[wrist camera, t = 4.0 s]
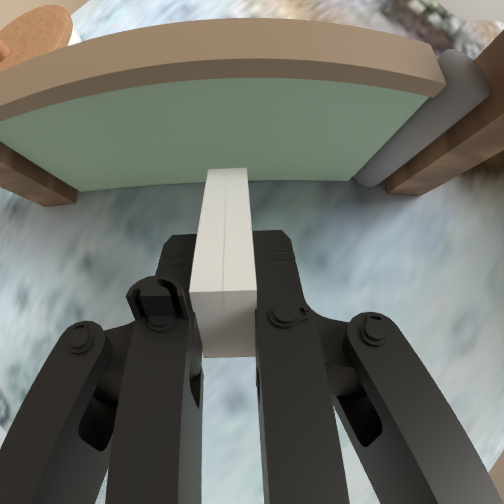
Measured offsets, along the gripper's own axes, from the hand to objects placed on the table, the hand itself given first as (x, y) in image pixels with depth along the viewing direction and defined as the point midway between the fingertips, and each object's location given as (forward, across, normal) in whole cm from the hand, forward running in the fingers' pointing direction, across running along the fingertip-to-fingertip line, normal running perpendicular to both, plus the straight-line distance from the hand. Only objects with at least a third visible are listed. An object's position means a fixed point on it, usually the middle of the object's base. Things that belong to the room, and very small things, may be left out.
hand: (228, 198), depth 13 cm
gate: (+8, 0, +2) cm, 8 cm away
